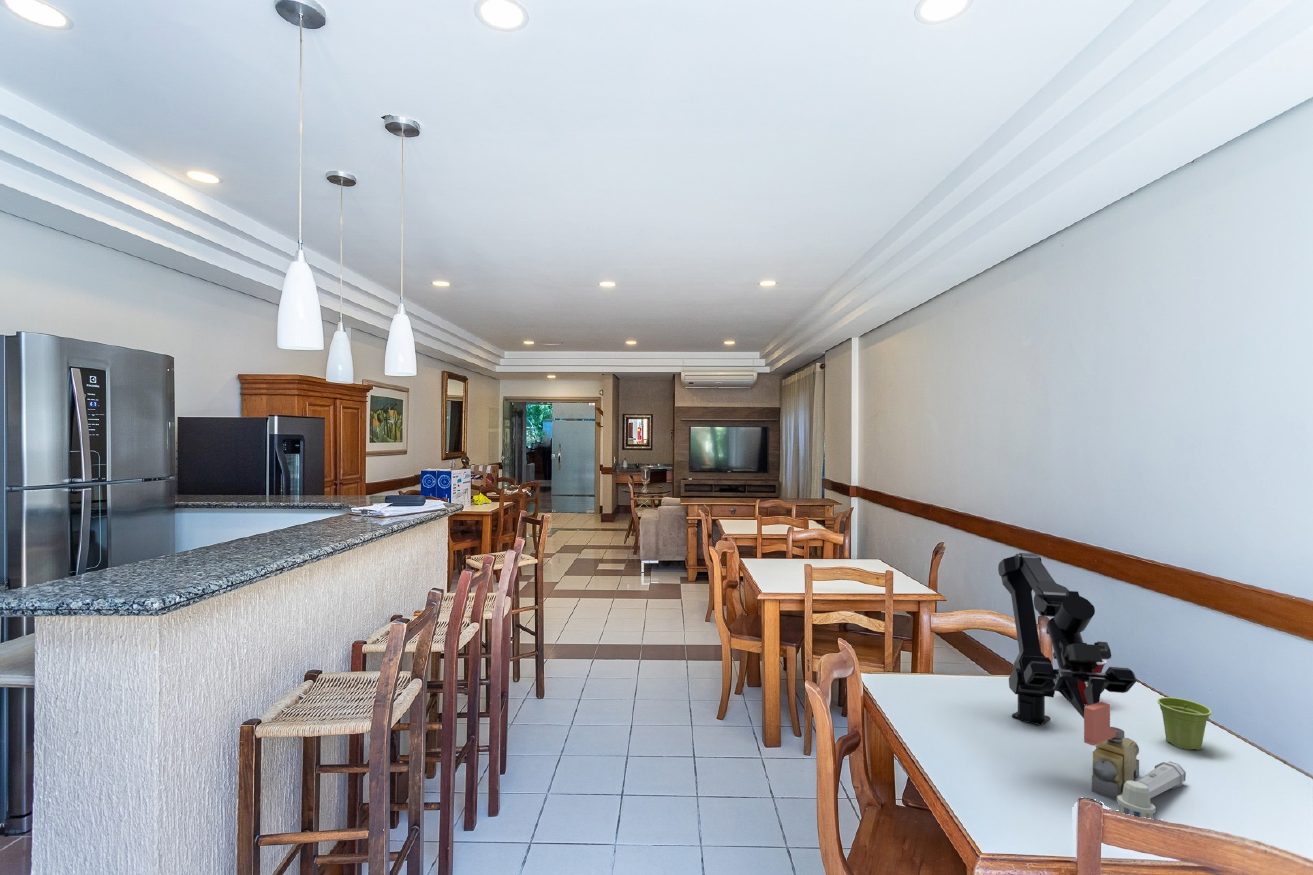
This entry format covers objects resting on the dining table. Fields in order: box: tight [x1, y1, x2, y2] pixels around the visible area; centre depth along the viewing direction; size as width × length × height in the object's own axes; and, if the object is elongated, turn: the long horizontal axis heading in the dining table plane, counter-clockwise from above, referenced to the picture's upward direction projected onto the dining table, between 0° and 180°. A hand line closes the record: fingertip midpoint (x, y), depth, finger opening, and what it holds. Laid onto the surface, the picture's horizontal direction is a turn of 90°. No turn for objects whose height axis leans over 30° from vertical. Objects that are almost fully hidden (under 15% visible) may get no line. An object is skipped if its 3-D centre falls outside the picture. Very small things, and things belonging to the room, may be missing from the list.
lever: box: [1083, 701, 1125, 746], centre depth 123 cm, size 11×3×7 cm, turn 119°
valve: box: [1091, 737, 1140, 801], centre depth 126 cm, size 16×5×9 cm, turn 130°
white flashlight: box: [1116, 761, 1187, 819], centre depth 119 cm, size 5×7×25 cm
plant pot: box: [1156, 696, 1213, 751], centre depth 143 cm, size 9×9×9 cm
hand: (1091, 719), depth 124 cm, fingers closed
